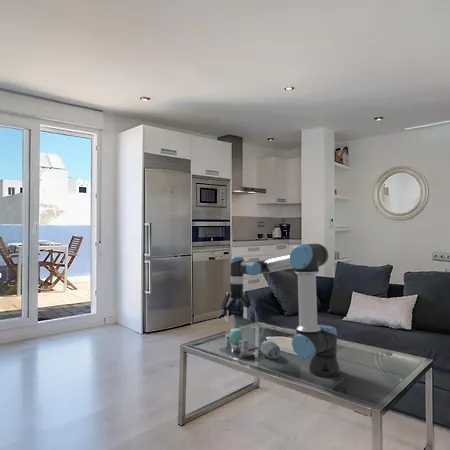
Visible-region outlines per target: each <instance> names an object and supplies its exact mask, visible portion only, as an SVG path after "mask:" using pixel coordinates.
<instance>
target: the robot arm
mask: <svg viewBox="0 0 450 450" xmlns="http://www.w3.org/2000/svg"><path fill="white" fill-rule="evenodd" d="M328 259H329V252H328V249H327V248H326V246H324V245H322V244H321V243H301V244H297V245H295V246H293V248H292V249H291V250H290V252H289V254H286V255H281V256H278V257H273V258H269V259H263V260H251V261H250V260H249V261H248V260H245V258H244V257H243V256H240V255H239V256H237V255H236V256H232V257H231V258H230V277H229V279H230V280H229V281H230V284H229V290H230V292H227V291H226V292H225V296H224V298H223V301H222V303H221V306H220V309H221V310H223V316H224V322H227V323H229V308H230V306H231V305H232V303H233V302H234V301H236V300H240V301H241V303H242V305H243V312H242V313H243V316H242V317H243V319H246V320H248V313H249V308H250V307H251V306H252V303H251V300H250V298H249V295H248V291H247V290H244V275H248V276H252V277H253V276H258V275H261V274H270V273H274V272H278V271H283V270H289V269H294V273H295V274H296V275H297V294H298V295H297V296H298V299H297V300H298V325H297V327H296V328H295V332H296V333H295V335H294V336H293V338H292V339H291V347H292V350H293V351H294V353H295V354H296V355H297V357H299V358H301V359H303V360H304V359H306V360H307V359H310V362H309V366H308V370H309V372H310V373H311V374H312V375H315V376H318V377H322V378H334V377H338V376H340V375H341V367H340V365H339V361H338V358H337V357H338V356H337V353H338V351H337V350H338V343H337V342H338V330H337V329H336V327H334V326H331V325H327V324H326V325H325V324H318V306H317V305H318V302H317V300H318V299H317V275H318V274H319V272H320V267H322V266H324V265H325V264H326V263H327V262H328Z"/></svg>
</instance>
